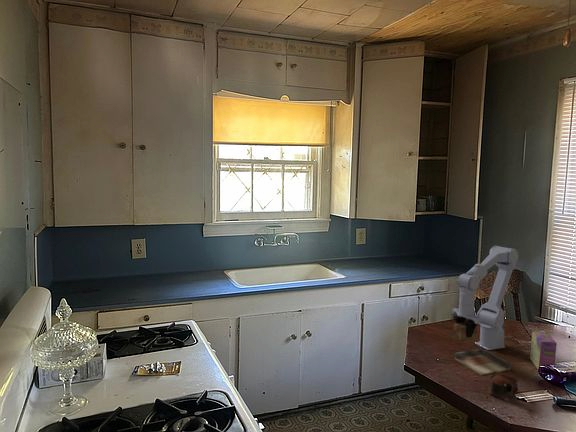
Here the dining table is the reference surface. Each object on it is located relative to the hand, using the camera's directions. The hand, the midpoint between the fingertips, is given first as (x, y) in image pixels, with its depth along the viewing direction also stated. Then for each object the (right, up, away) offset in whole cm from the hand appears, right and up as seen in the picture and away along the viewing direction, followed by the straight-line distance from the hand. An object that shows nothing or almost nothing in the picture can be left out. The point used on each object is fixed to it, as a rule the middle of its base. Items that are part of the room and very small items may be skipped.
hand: (465, 334), depth 188 cm
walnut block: (0, -2, 0) cm, 2 cm away
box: (+27, -10, -9) cm, 30 cm away
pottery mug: (+1, -13, -32) cm, 34 cm away
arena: (+3, -10, -8) cm, 13 cm away
